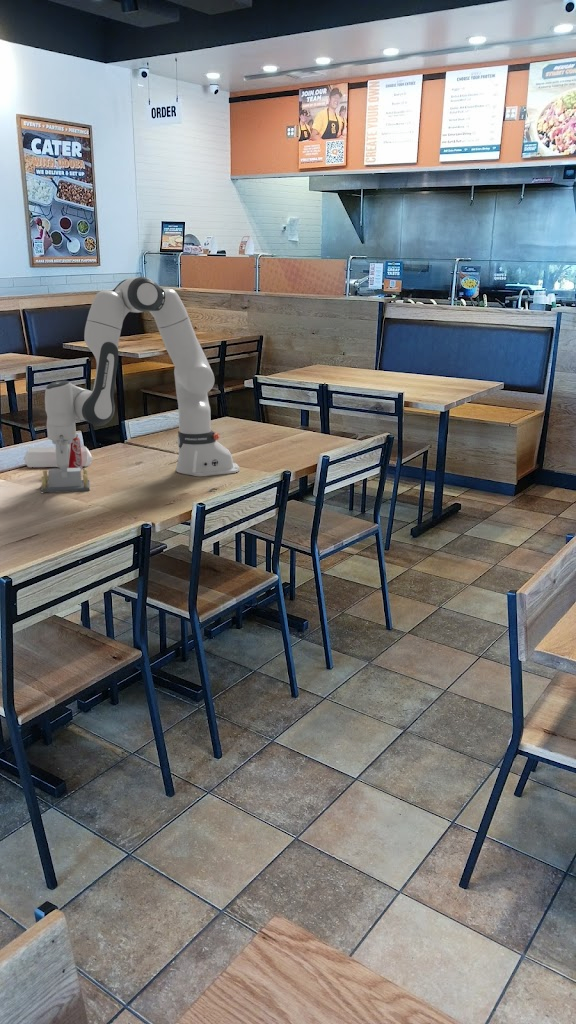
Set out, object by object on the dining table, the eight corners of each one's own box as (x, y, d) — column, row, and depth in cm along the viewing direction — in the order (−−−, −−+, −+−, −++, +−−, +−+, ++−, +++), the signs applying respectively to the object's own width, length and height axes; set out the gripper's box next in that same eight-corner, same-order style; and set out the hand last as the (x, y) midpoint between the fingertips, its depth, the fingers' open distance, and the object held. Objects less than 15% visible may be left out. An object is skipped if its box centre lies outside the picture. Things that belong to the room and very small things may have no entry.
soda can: (76, 474, 271) (74, 438, 267) (57, 473, 273) (54, 436, 269) (85, 469, 278) (83, 433, 274) (67, 468, 279) (64, 432, 275)
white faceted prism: (20, 459, 275) (90, 458, 278) (22, 445, 280) (91, 444, 283) (24, 474, 281) (92, 473, 284) (26, 460, 285) (93, 459, 289)
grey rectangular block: (81, 482, 259) (80, 467, 257) (81, 485, 255) (80, 471, 253) (50, 483, 257) (48, 468, 255) (49, 487, 253) (48, 472, 251)
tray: (89, 482, 262) (88, 468, 261) (89, 490, 253) (88, 475, 252) (42, 484, 259) (41, 470, 257) (41, 493, 250) (39, 477, 248)
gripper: (71, 439, 241) (74, 482, 246) (72, 425, 260) (75, 466, 265) (49, 439, 240) (53, 483, 244) (52, 426, 259) (56, 466, 263)
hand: (65, 474), depth 255 cm, fingers open, 5 cm apart
